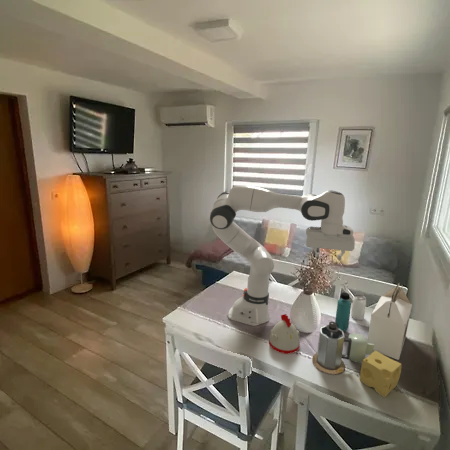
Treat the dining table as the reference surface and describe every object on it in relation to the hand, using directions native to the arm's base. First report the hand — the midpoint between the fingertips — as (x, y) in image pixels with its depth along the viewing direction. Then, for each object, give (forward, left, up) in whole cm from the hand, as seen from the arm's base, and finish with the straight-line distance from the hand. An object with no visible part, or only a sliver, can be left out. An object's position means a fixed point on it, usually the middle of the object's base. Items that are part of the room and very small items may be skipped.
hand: (328, 257), depth 130 cm
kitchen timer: (-16, -9, -41) cm, 45 cm away
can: (+21, +25, -41) cm, 53 cm away
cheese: (+21, -23, -41) cm, 52 cm away
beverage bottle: (+11, +10, -41) cm, 44 cm away
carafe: (+3, -17, -41) cm, 45 cm away
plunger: (+3, -17, -35) cm, 39 cm away
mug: (+16, -9, -41) cm, 45 cm away
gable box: (+31, +6, -41) cm, 52 cm away
